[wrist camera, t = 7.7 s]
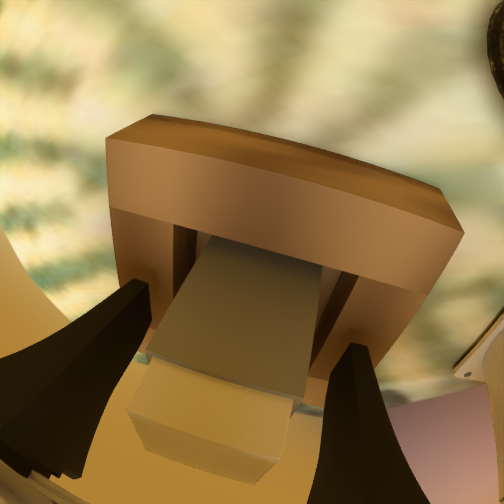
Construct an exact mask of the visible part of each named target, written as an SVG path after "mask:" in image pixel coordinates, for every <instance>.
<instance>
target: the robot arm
mask: <svg viewBox="0 0 504 504" xmlns="http://www.w3.org/2000/svg"><path fill="white" fill-rule="evenodd" d="M151 322H152V313H151V303H150V292H149V283H147V282H144V281H141V280H138V279H135V278H133V279H132V280H130V281H129V282H128V283H126V284H125V285H123V286H122V287H121V288H119V289H118V290H117V291H115V292H114V293H113V294H111V295H110V296H109V297H107V298H106V299H105V300H103V301H102V302H101V303H99V304H98V305H96V306H95V307H94V308H92V309H91V310H89V311H88V312H87V313H85V314H84V315H82V316H81V317H79V318H78V319H76V320H75V321H73V322H72V323H70V324H69V325H67V326H66V327H64V328H62V329H61V330H59V331H57V332H56V333H54V334H52V335H50V336H49V337H47V338H45V339H43V340H41V341H39V342H37V343H35V344H33V345H31V346H29V347H27V348H25V349H23V350H21V351H18V352H16V353H14V354H11V355H8V356H6V357H3V358H0V504H89V503H87V502H85V501H84V500H82V499H80V498H79V497H77V496H75V495H73V494H72V493H70V492H68V491H66V490H65V489H63V488H61V487H60V486H58V485H57V484H55V483H54V482H52V481H50V480H49V478H50V476H51V474H52V475H54V476H56V477H57V478H60V476H61V474H62V473H63V474H65V475H66V476H68V477H70V478H72V479H78V478H80V477H82V472H83V469H84V465H85V462H86V458H87V454H88V452H89V449H90V446H91V443H92V440H93V437H94V434H95V431H96V429H97V426H98V424H99V421H100V419H101V416H102V414H103V412H104V409H105V407H106V405H107V402H108V400H109V398H110V396H111V394H112V392H113V390H114V389H115V387H116V385H117V383H118V382H119V380H120V378H121V377H122V375H123V373H124V372H125V370H126V368H127V367H128V365H129V364H130V362H131V360H132V359H133V357H134V355H135V354H136V352H137V350H138V349H139V347H140V345H141V344H142V342H143V339H144V337H145V335H146V333H147V331H148V329H149V326H150V324H151ZM453 372H454V376H455V377H457V378H462V379H468V380H475V381H482V382H486V383H487V388H488V394H489V399H490V405H491V411H492V418H493V425H494V433H495V442H496V452H497V463H498V484H499V502H501V503H500V504H504V312H503V314H502V315H501V316H500V317H499V319H498V320H497V321H496V322H495V324H494V325H493V326H492V327H491V328H490V330H489V331H488V332H487V333H486V334H485V335H484V337H483V338H482V339H481V340H480V341H479V342H478V343H477V345H476V346H475V347H474V348H473V349H472V350H471V351H470V352H469V353H468V354H467V356H466V357H465V358H464V359H463V360H462V361H461V362H460V363H459V364H458V365H457V366H456V367H455V368H454V370H453ZM307 504H430V502H429V500H428V499H427V497H426V496H425V494H424V492H423V491H422V489H421V487H420V485H419V484H418V482H417V480H416V478H415V476H414V474H413V473H412V471H411V469H410V467H409V465H408V463H407V461H406V459H405V456H404V454H403V452H402V450H401V447H400V445H399V443H398V441H397V438H396V436H395V433H394V430H393V428H392V425H391V422H390V419H389V417H388V414H387V411H386V408H385V404H384V401H383V398H382V395H381V392H380V389H379V385H378V382H377V378H376V375H375V371H374V368H373V364H372V361H371V357H370V353H369V349H368V347H367V346H365V345H361V344H357V343H353V342H350V344H349V345H348V347H347V349H346V350H345V352H344V353H343V355H342V356H341V358H340V359H339V361H338V362H337V364H336V365H335V367H334V368H333V370H332V371H331V373H330V377H329V382H328V387H327V392H326V397H325V405H324V416H323V426H322V435H321V444H320V453H319V459H318V464H317V468H316V472H315V476H314V480H313V484H312V488H311V491H310V494H309V498H308V501H307Z"/></svg>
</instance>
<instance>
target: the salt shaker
mask: <svg viewBox="0 0 504 504" xmlns="http://www.w3.org/2000/svg"><path fill="white" fill-rule="evenodd" d="M487 48H488V57H489V62H490V66H491V71H492V74H493V77H494V79H495V82H496V84H497V87H498V89H499V91H500V93H501V95H502V96H503V98H504V0H503V1H502V2H500V3H499V4H498V5H497V6H496V8H495V10H494V12H493V14H492V16H491V18H490V22H489V27H488V32H487Z"/></svg>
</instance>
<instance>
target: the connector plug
mask: <svg viewBox="0 0 504 504" xmlns="http://www.w3.org/2000/svg"><path fill="white" fill-rule="evenodd" d="M322 267H323V265H320V264H316V263H312V262H309V261H305V260H302V259H298V258H295V257H291V256H287V255H284V254H280V253H277V252H273V251H270V250H266V249H262V248H259V247H255V246H252V245H248V244H244V243H241V242H237V241H234V240H230V239H226V238H223V237H219V236H215V235H212V236H211V238H210V239H209V241H208V243H207V244H206V246H205V248H204V249H203V251H202V253H201V254H200V256H199V258H198V259H197V261H196V263H195V264H194V266H193V268H192V269H191V271H190V273H189V274H188V276H187V278H186V279H185V281H184V283H183V284H182V286H181V288H180V289H179V291H178V293H177V295H176V296H175V298H174V300H173V301H172V303H171V305H170V307H169V308H168V310H167V312H166V313H165V315H164V317H163V319H162V320H161V322H160V324H159V326H158V327H157V329H156V331H155V333H154V334H153V336H152V338H151V340H150V341H149V343H148V345H147V347H146V349H145V351H146V356H147V361H148V367H147V369H146V371H145V372H144V374H143V376H142V378H141V380H140V382H139V384H138V386H137V388H136V390H135V392H134V394H133V395H132V397H131V399H130V401H129V403H128V405H127V407H126V409H127V411H128V414H129V416H130V418H131V420H132V423H133V424H134V427H135V429H136V431H137V433H138V435H139V437H140V439H141V441H142V443H143V445H144V447H145V449H146V450H148V451H150V452H153V453H155V454H157V455H160V456H163V457H165V458H168V459H170V460H173V461H176V462H179V463H182V464H184V465H187V466H190V467H193V468H197V469H199V470H202V471H206V472H209V473H212V474H215V475H219V476H222V477H226V478H229V479H233V480H237V481H241V482H245V483H249V484H253V485H255V484H256V483H257V482H258V481H259V480H260V479H261V478H262V477H263V476H264V475H265V474H266V473H267V472H268V471H269V470H270V469H271V468H272V467H273V466H274V465H275V464H276V463H277V462H278V461H279V460H280V459H281V456H282V451H283V447H284V442H285V437H286V433H287V429H288V424H289V419H290V418H291V416H292V414H293V413H294V412H295V410H296V409H297V407H298V406H299V404H300V403H301V401H302V400H303V398H304V394H305V388H306V382H307V377H308V370H309V364H310V358H311V351H312V345H313V338H314V331H315V324H316V316H317V309H318V301H319V293H320V285H321V276H322Z"/></svg>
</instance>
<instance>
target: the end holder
mask: <svg viewBox="0 0 504 504" xmlns="http://www.w3.org/2000/svg"><path fill="white" fill-rule="evenodd" d="M105 141H106V166H107V183H108V196H109V208H110V218H111V227H112V236H113V244H114V252H115V259H116V266H117V273H118V279H119V285H120V288H121V287H122V286H123V285H125V284H126V283H128V282H129V281H130V280H132V279H133V278H135V279H138V280H141V281H144V282H147V283H149V292H150V303H151V313H152V322H151V324H150V326H149V329H148V331H147V333H146V335H145V337H144V339H143V342H142V344H141V345H140V347H139V349H138V350H137V351H139V352H142V353H144V354H146V351H145V349H146V347H147V345H148V343H149V341H150V340H151V338H152V336H153V334H154V333H155V331H156V329H157V327H158V326H159V324H160V322H161V320H162V319H163V317H164V315H165V313H166V312H167V310H168V308H169V307H170V305H171V303H172V301H173V300H174V298H175V296H176V295H177V293H178V291H179V289H180V288H181V286H182V284H183V283H184V281H185V279H186V278H187V276H188V274H189V273H190V271H191V269H192V268H193V266H194V264H195V263H196V261H197V259H198V258H199V256H200V254H201V253H202V251H203V249H204V248H205V246H206V244H207V243H208V241H209V239H210V238H211V236H212V235H215V236H219V237H223V238H226V239H230V240H234V241H237V242H241V243H244V244H248V245H252V246H255V247H259V248H262V249H266V250H270V251H273V252H277V253H280V254H284V255H287V256H291V257H295V258H298V259H302V260H305V261H309V262H312V263H316V264H320V265H323V267H322V276H321V285H320V293H319V301H318V309H317V316H316V324H315V331H314V338H313V345H312V351H311V358H310V364H309V370H308V377H307V382H306V388H305V394H304V398H303V400H302V401H301V402H302V403H306V404H310V405H315V406H320V407H324V405H325V397H326V392H327V387H328V382H329V377H330V373H331V371H332V370H333V368H334V367H335V365H336V364H337V362H338V361H339V359H340V358H341V356H342V355H343V353H344V352H345V350H346V349H347V347H348V345H349V344H350V342H353V343H357V344H361V345H365V346H367V347H368V349H369V353H370V357H371V361H372V364H373V368H375V367H376V366H377V364H378V363H379V362H380V361H381V359H382V358H383V357H384V356H385V354H386V353H387V352H388V350H389V349H390V348H391V346H392V345H393V344H394V343H395V341H396V340H397V339H398V337H399V336H400V334H401V333H402V332H403V330H404V329H405V328H406V326H407V325H408V323H409V322H410V321H411V319H412V318H413V316H414V315H415V313H416V312H417V310H418V309H419V308H420V306H421V305H422V303H423V302H424V300H425V299H426V297H427V296H428V294H429V292H430V291H431V289H432V288H433V286H434V285H435V283H436V281H437V280H438V278H439V277H440V275H441V273H442V272H443V270H444V268H445V267H446V265H447V263H448V262H449V260H450V258H451V257H452V255H453V253H454V251H455V250H456V248H457V246H458V244H459V243H460V241H461V239H462V237H463V235H464V231H463V229H462V227H461V225H460V223H459V222H458V220H457V218H456V216H455V214H454V213H453V211H452V209H451V207H450V205H449V204H448V202H447V200H446V199H445V197H444V195H443V194H442V192H441V190H440V189H438V188H436V187H433V186H431V185H428V184H425V183H423V182H420V181H417V180H415V179H412V178H409V177H407V176H404V175H401V174H398V173H395V172H393V171H390V170H387V169H384V168H381V167H378V166H375V165H372V164H369V163H366V162H362V161H359V160H356V159H353V158H350V157H346V156H343V155H340V154H336V153H333V152H329V151H326V150H322V149H319V148H315V147H311V146H308V145H304V144H300V143H296V142H292V141H288V140H284V139H280V138H276V137H272V136H268V135H263V134H259V133H255V132H250V131H245V130H241V129H236V128H231V127H226V126H221V125H216V124H210V123H205V122H199V121H193V120H187V119H181V118H174V117H168V116H161V115H154V114H152V115H150V116H148V117H146V118H143V119H141V120H139V121H137V122H135V123H133V124H131V125H129V126H127V127H125V128H123V129H122V130H120V131H118V132H116V133H114V134H112V135H110V136H108V137H107V138H105Z"/></svg>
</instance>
